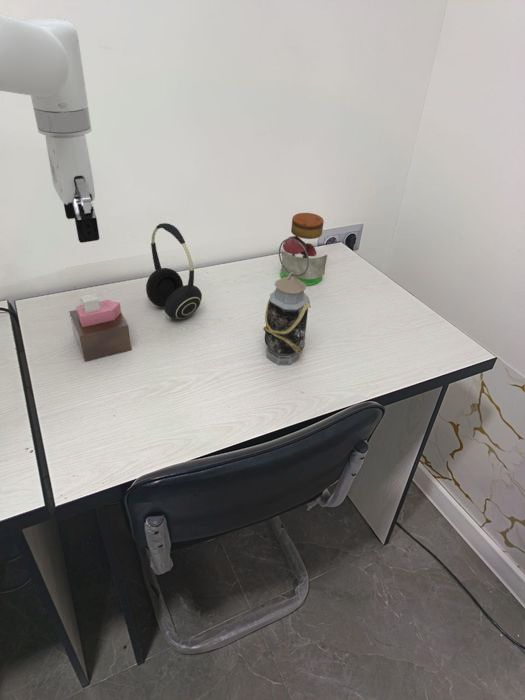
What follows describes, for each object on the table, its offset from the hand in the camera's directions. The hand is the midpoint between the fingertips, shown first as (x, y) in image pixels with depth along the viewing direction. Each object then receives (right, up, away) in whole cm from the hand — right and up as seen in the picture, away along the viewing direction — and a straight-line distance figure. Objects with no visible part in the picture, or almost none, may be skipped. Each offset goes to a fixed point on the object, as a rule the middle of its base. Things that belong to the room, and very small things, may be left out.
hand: (82, 228), depth 83 cm
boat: (-1, -14, +11) cm, 18 cm away
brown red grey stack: (+40, -2, +41) cm, 57 cm away
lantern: (+34, -22, +16) cm, 43 cm away
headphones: (+11, -12, +25) cm, 30 cm away
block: (-1, -19, +15) cm, 24 cm away
